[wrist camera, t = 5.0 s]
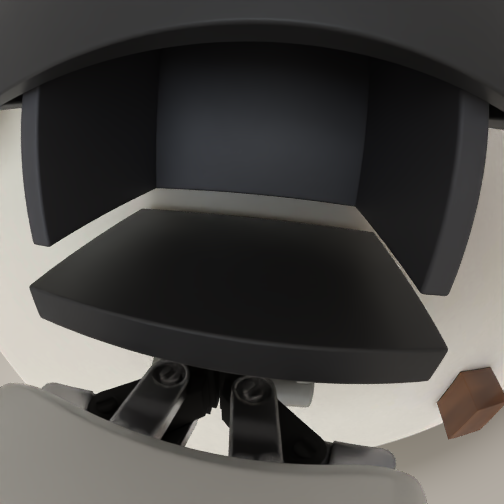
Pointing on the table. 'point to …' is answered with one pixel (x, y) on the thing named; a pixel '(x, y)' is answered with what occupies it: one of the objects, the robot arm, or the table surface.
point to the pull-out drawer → (255, 229)
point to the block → (470, 402)
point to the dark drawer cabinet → (256, 35)
